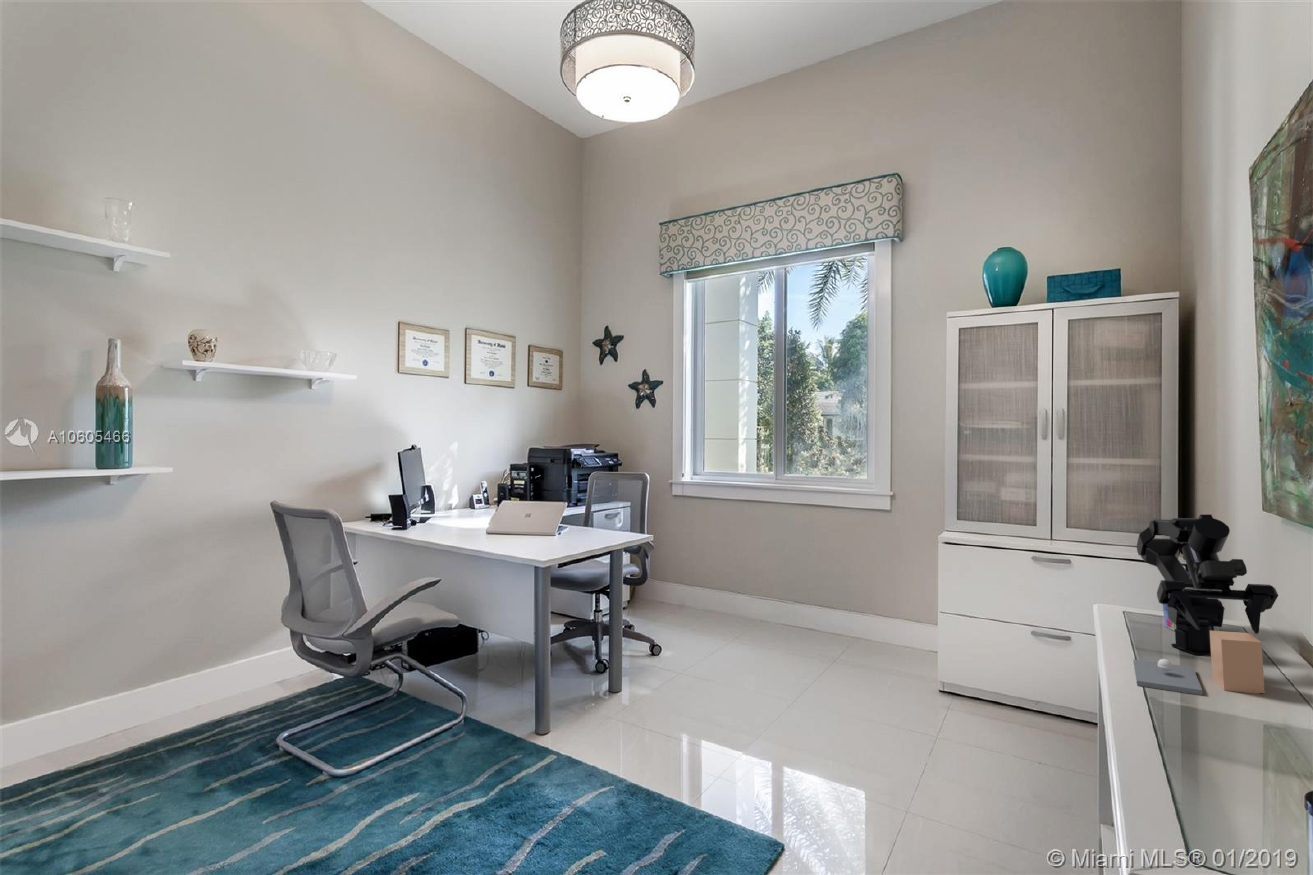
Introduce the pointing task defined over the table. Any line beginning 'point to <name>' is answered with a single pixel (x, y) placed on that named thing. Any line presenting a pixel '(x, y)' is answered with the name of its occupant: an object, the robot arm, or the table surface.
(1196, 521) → the robot arm
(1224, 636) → the cover box
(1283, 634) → the table surface
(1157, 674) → the post board
